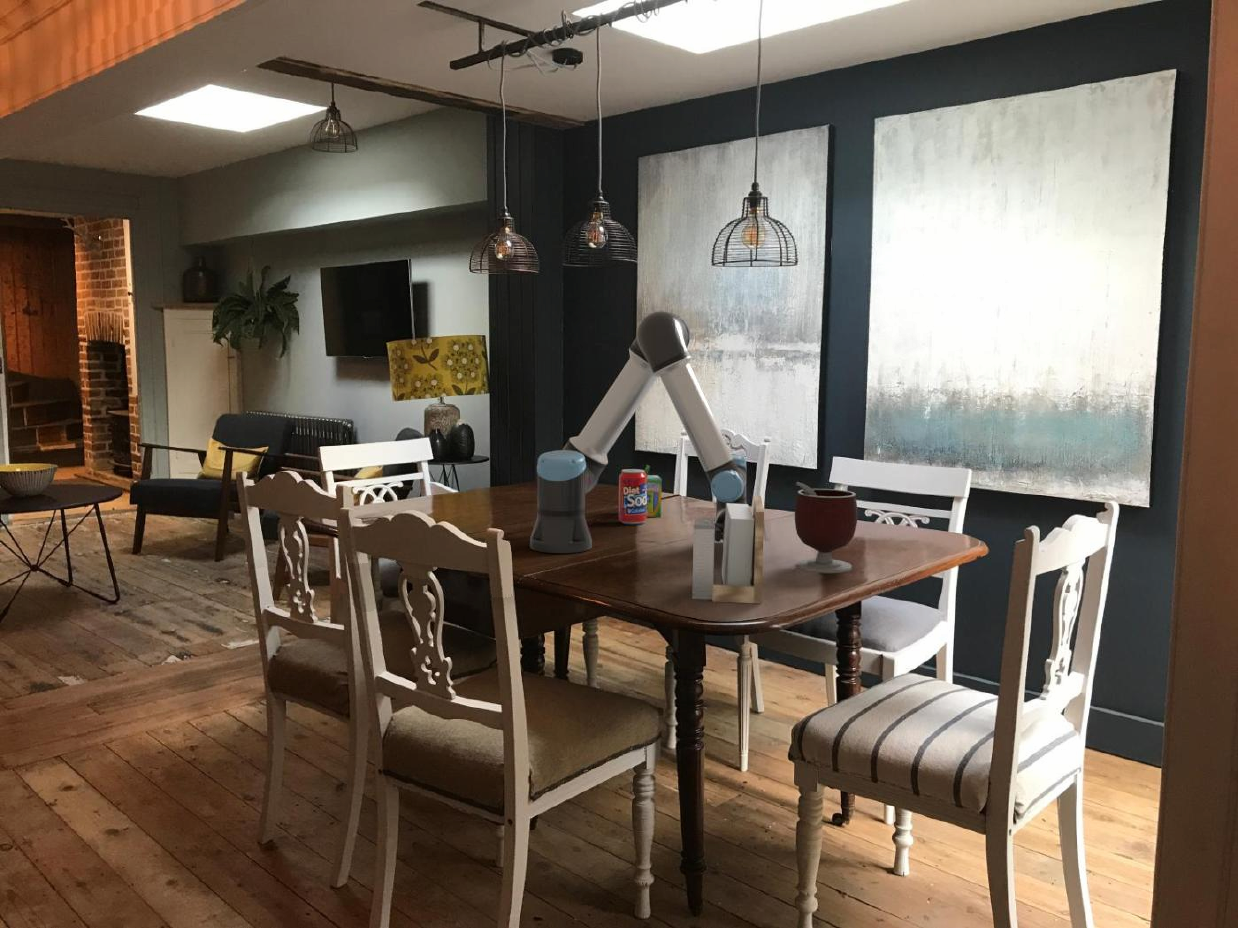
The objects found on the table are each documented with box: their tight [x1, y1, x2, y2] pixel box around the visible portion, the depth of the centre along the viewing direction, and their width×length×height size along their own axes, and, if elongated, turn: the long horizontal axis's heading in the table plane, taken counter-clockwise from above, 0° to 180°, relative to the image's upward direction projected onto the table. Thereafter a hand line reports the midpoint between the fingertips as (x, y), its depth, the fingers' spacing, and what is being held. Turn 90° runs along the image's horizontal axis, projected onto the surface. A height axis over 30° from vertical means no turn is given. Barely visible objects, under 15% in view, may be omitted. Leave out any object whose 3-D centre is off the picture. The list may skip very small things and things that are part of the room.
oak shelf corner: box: [712, 494, 765, 604], centre depth 204 cm, size 10×22×18 cm, turn 174°
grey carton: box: [691, 517, 716, 601], centre depth 200 cm, size 4×8×15 cm, turn 174°
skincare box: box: [721, 503, 755, 586], centre depth 208 cm, size 21×6×16 cm, turn 176°
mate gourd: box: [794, 481, 858, 574], centre depth 226 cm, size 16×14×20 cm
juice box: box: [644, 464, 663, 518], centre depth 294 cm, size 9×9×15 cm
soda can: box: [618, 468, 648, 526], centre depth 281 cm, size 8×8×15 cm
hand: (731, 542), depth 218 cm, fingers closed
